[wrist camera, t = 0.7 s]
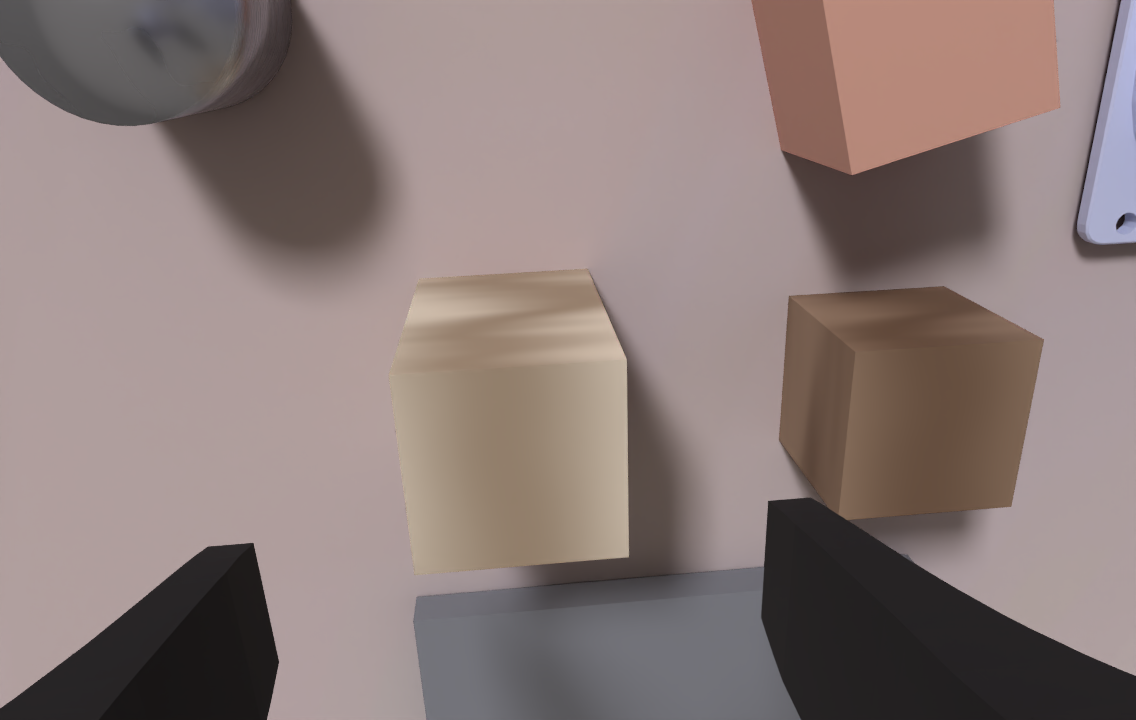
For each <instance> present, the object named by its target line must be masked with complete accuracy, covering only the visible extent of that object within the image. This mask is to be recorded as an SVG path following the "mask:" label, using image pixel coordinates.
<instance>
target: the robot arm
mask: <svg viewBox="0 0 1136 720" xmlns="http://www.w3.org/2000/svg"><path fill="white" fill-rule="evenodd" d="M1123 214H1125V221H1124V223H1123V225H1122V226H1121V227H1120V228H1119V229H1118V230H1116V223H1117V221H1118V219H1119V218H1120V217H1121V216H1122V215H1123ZM1077 232H1078V234H1079V236H1080V237H1081V238H1082V239H1083V240H1085V241H1087V242H1090V243H1093V244H1099V245H1106V244H1122V243H1136V0H1121V4H1120V9H1119V14H1118V19H1117V24H1116V29H1115V35H1114V40H1113V45H1112V50H1111V55H1110V60H1109V65H1108V70H1107V75H1106V80H1105V85H1104V90H1103V95H1102V100H1101V105H1100V110H1099V115H1098V120H1097V125H1096V130H1095V135H1094V141H1093V146H1092V151H1091V156H1090V161H1089V166H1088V171H1087V176H1086V181H1085V186H1084V191H1083V196H1082V201H1081V206H1080V211H1079V216H1078V221H1077ZM761 619H762V622H763V626H764V629H765V632H766V635H767V638H768V641H769V644H770V647H771V650H772V653H773V656H774V659H775V661H776V664H777V667H778V670H779V673H780V675H781V678H782V681H783V683H784V685H785V688H786V690H787V692H788V694H789V696H790V698H791V700H792V702H793V704H794V706H795V708H796V710H797V713H798V715H799V717H800V719H801V720H1136V676H1134V675H1132V674H1129V673H1127V672H1124V671H1122V670H1119V669H1117V668H1115V667H1112V666H1110V665H1108V664H1105V663H1103V662H1101V661H1099V660H1096V659H1094V658H1092V657H1089V656H1087V655H1085V654H1083V653H1081V652H1078V651H1076V650H1074V649H1072V648H1070V647H1068V646H1066V645H1064V644H1062V643H1059V642H1057V641H1055V640H1053V639H1051V638H1049V637H1047V636H1045V635H1043V634H1040V633H1038V632H1036V631H1034V630H1032V629H1030V628H1028V627H1026V626H1024V625H1022V624H1020V623H1018V622H1016V621H1014V620H1012V619H1010V618H1008V617H1007V616H1005V615H1003V614H1001V613H999V612H997V611H995V610H994V609H992V608H990V607H988V606H987V605H985V604H983V603H981V602H979V601H978V600H976V599H974V598H972V597H970V596H969V595H967V594H965V593H963V592H961V591H960V590H958V589H956V588H954V587H953V586H951V585H949V584H948V583H946V582H944V581H943V580H941V579H939V578H938V577H936V576H934V575H933V574H931V573H929V572H928V571H926V570H924V569H923V568H921V567H919V566H918V565H916V564H915V563H913V562H911V561H910V560H908V559H907V558H905V557H903V556H902V555H900V554H899V553H897V552H896V551H894V550H892V549H891V548H889V547H888V546H886V545H885V544H883V543H882V542H880V541H878V540H877V539H875V538H874V537H872V536H871V535H869V534H868V533H866V532H865V531H863V530H862V529H860V528H858V527H857V526H855V525H854V524H852V523H851V522H849V521H848V520H846V519H845V518H843V517H841V516H840V515H838V514H837V513H835V512H834V511H832V510H830V509H829V508H827V507H826V506H824V505H822V504H821V503H819V502H817V501H815V500H813V499H812V498H800V499H787V500H775V501H768V515H767V531H766V546H765V562H764V578H763V594H762V609H761ZM278 664H279V660H278V655H277V651H276V646H275V641H274V637H273V632H272V627H271V623H270V618H269V613H268V609H267V604H266V599H265V595H264V590H263V585H262V581H261V576H260V571H259V567H258V562H257V557H256V553H255V548H254V543H247V544H235V545H223V546H211V547H207V548H205V549H204V550H203V551H201V552H200V553H198V554H197V555H196V556H194V557H193V558H192V559H191V560H189V561H188V562H187V563H185V564H184V565H183V566H182V567H180V568H179V569H178V570H177V571H176V572H174V573H173V574H172V575H171V576H169V577H168V578H167V579H166V580H165V581H163V582H162V583H161V584H160V585H159V586H157V587H156V588H155V589H154V590H153V591H151V592H150V593H149V594H148V595H146V596H145V597H144V598H143V599H142V600H140V601H139V602H138V603H137V604H136V605H134V606H133V607H132V608H131V609H129V610H128V611H127V612H126V613H124V614H123V615H122V616H121V617H120V618H118V619H117V620H116V621H115V622H113V623H112V624H111V625H110V626H108V627H107V628H106V629H105V630H104V631H102V632H101V633H100V634H99V635H97V636H96V637H95V638H94V639H92V640H91V641H90V642H89V643H87V644H86V645H85V646H84V647H82V648H81V649H80V650H78V651H77V652H76V653H74V654H73V655H72V656H70V657H69V658H68V659H66V660H65V661H64V662H62V663H61V664H60V665H58V666H57V667H56V668H54V669H53V670H52V671H50V672H49V673H48V674H46V675H45V676H44V677H42V678H41V679H40V680H38V681H37V682H36V683H34V684H33V685H32V686H30V687H29V688H28V689H26V690H25V691H24V692H22V693H21V694H20V695H19V696H17V697H16V698H14V699H13V700H12V701H10V702H9V703H7V704H6V705H5V706H3V707H2V708H0V720H267V716H268V712H269V708H270V703H271V699H272V694H273V689H274V684H275V679H276V674H277V669H278Z"/></svg>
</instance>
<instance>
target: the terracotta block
mask: <svg viewBox="0 0 1136 720" xmlns="http://www.w3.org/2000/svg"><path fill="white" fill-rule="evenodd" d="M752 5H753V10H754V16H755V21H756V26H757V31H758V36H759V41H760V46H761V51H762V56H763V61H764V66H765V71H766V76H767V81H768V86H769V91H770V96H771V101H772V106H773V111H774V116H775V121H776V127H777V132H778V137H779V142H780V147H781V150H782V151H785V152H788V153H791V154H794V155H796V156H799V157H802V158H805V159H808V160H811V161H813V162H816V163H819V164H822V165H825V166H828V167H830V168H833V169H836V170H839V171H842V172H844V173H847V174H850V175H854V174H857V173H860V172H863V171H866V170H869V169H872V168H875V167H879V166H882V165H885V164H888V163H891V162H894V161H897V160H900V159H903V158H906V157H909V156H913V155H916V154H919V153H922V152H925V151H928V150H931V149H934V148H937V147H940V146H943V145H947V144H950V143H953V142H956V141H959V140H962V139H965V138H968V137H971V136H974V135H977V134H981V133H984V132H987V131H990V130H993V129H996V128H999V127H1002V126H1005V125H1008V124H1011V123H1014V122H1018V121H1021V120H1024V119H1027V118H1030V117H1033V116H1036V115H1039V114H1042V113H1045V112H1048V111H1052V110H1055V109H1058V108H1060V95H1059V79H1058V63H1057V47H1056V32H1055V16H1054V0H752Z"/></svg>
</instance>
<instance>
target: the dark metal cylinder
mask: <svg viewBox="0 0 1136 720" xmlns="http://www.w3.org/2000/svg"><path fill="white" fill-rule="evenodd" d="M291 31H292V11H291V2H290V0H0V57H1V58H2V59H3V61H4V62H5V63H6V64H7V66H8V67H9V68H10V69H11V70H12V71H13V72H14V73H15V74H16V75H17V76H18V77H19V78H20V80H21V81H23V82H24V83H25V84H26V85H27V86H28V87H30V88H31V89H32V90H33V91H34V92H36V93H37V94H38V95H40V96H41V97H43V98H44V99H46V100H47V101H49V102H50V103H52V104H54V105H55V106H57V107H59V108H61V109H63V110H65V111H67V112H69V113H71V114H74V115H76V116H79V117H81V118H84V119H87V120H91V121H95V122H98V123H103V124H110V125H117V126H137V125H146V124H152V123H157V122H161V121H166V120H170V119H175V118H179V117H184V116H189V115H193V114H198V113H202V112H207V111H211V110H216V109H220V108H225V107H229V106H233V105H236V104H238V103H241V102H243V101H246V100H247V99H249V98H251V97H252V96H254V95H256V94H257V93H258V92H260V91H261V90H262V89H263V88H264V87H266V85H267V84H268V83H269V82H270V81H271V80H272V79H273V78H274V76H275V75H276V73H277V72H278V70H279V69H280V67H281V65H282V63H283V61H284V58H285V56H286V53H287V50H288V47H289V43H290V37H291Z"/></svg>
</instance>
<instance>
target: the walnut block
mask: <svg viewBox="0 0 1136 720" xmlns="http://www.w3.org/2000/svg"><path fill="white" fill-rule="evenodd" d="M1043 342H1044V339H1042V338H1040V337H1038V336H1036V335H1034V334H1033V333H1031V332H1029V331H1027V330H1025V329H1023V328H1021V327H1019V326H1018V325H1016V324H1014V323H1012V322H1010V321H1008V320H1006V319H1004V318H1003V317H1001V316H999V315H997V314H995V313H993V312H991V311H989V310H987V309H986V308H984V307H982V306H980V305H978V304H976V303H974V302H972V301H971V300H969V299H967V298H965V297H963V296H961V295H959V294H957V293H956V292H954V291H952V290H950V289H948V288H946V287H944V286H942V287H926V288H909V289H893V290H877V291H861V292H845V293H828V294H812V295H796V296H789V301H788V316H787V331H786V345H785V360H784V375H783V389H782V404H781V419H780V433H779V440H780V442H781V443H782V445H783V446H784V447H785V449H786V450H787V451H788V453H789V454H790V456H791V457H792V458H793V460H794V461H795V462H796V464H797V465H798V467H799V468H800V469H801V471H802V472H803V473H804V475H805V476H806V478H807V479H808V480H809V482H810V483H811V484H812V486H813V487H814V489H815V490H816V491H817V493H818V494H819V495H820V497H821V498H822V500H823V501H824V502H825V504H826V505H827V506H828V508H829V509H830V510H832V511H834V512H835V513H837V514H838V515H840V516H841V517H843V518H845V519H846V520H854V519H866V518H878V517H891V516H903V515H915V514H927V513H940V512H952V511H964V510H977V509H989V508H1001V507H1011V505H1012V500H1013V495H1014V490H1015V485H1016V479H1017V474H1018V469H1019V464H1020V459H1021V454H1022V449H1023V444H1024V439H1025V434H1026V428H1027V423H1028V418H1029V413H1030V408H1031V403H1032V398H1033V393H1034V388H1035V383H1036V377H1037V372H1038V367H1039V362H1040V357H1041V352H1042V347H1043Z"/></svg>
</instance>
